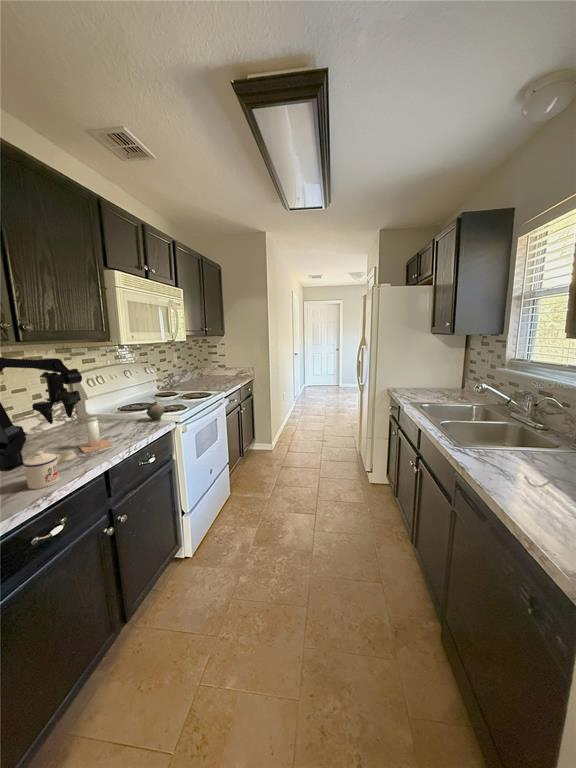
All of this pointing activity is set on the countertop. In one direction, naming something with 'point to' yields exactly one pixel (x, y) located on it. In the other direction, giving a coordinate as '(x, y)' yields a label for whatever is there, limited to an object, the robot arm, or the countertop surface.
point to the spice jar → (93, 431)
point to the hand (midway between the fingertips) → (60, 420)
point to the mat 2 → (103, 444)
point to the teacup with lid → (41, 470)
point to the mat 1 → (66, 456)
